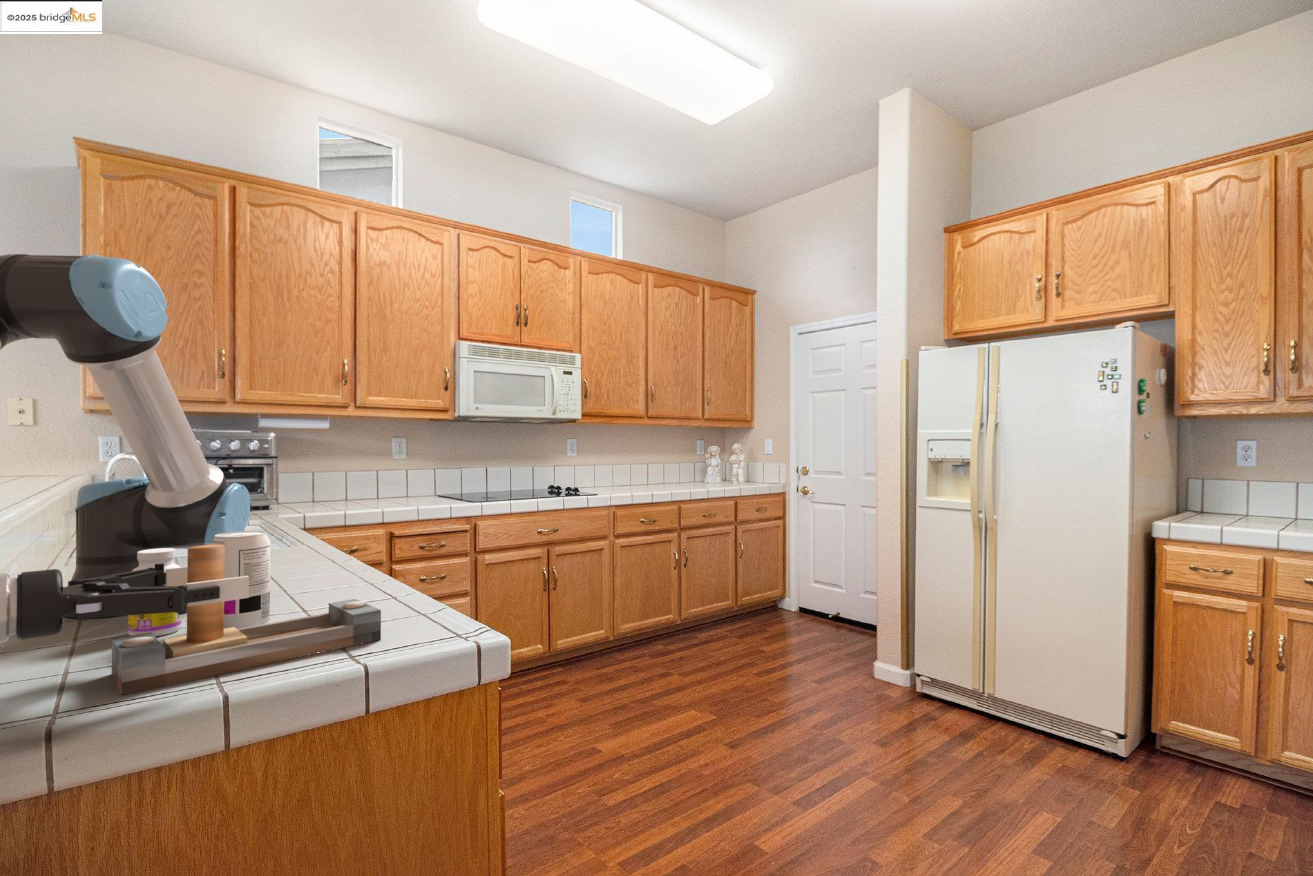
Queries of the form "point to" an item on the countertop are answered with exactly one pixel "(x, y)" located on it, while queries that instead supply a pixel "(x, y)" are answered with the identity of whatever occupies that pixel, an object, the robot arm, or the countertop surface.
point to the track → (244, 647)
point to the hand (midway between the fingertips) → (235, 579)
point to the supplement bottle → (148, 559)
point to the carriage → (204, 609)
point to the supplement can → (251, 559)
